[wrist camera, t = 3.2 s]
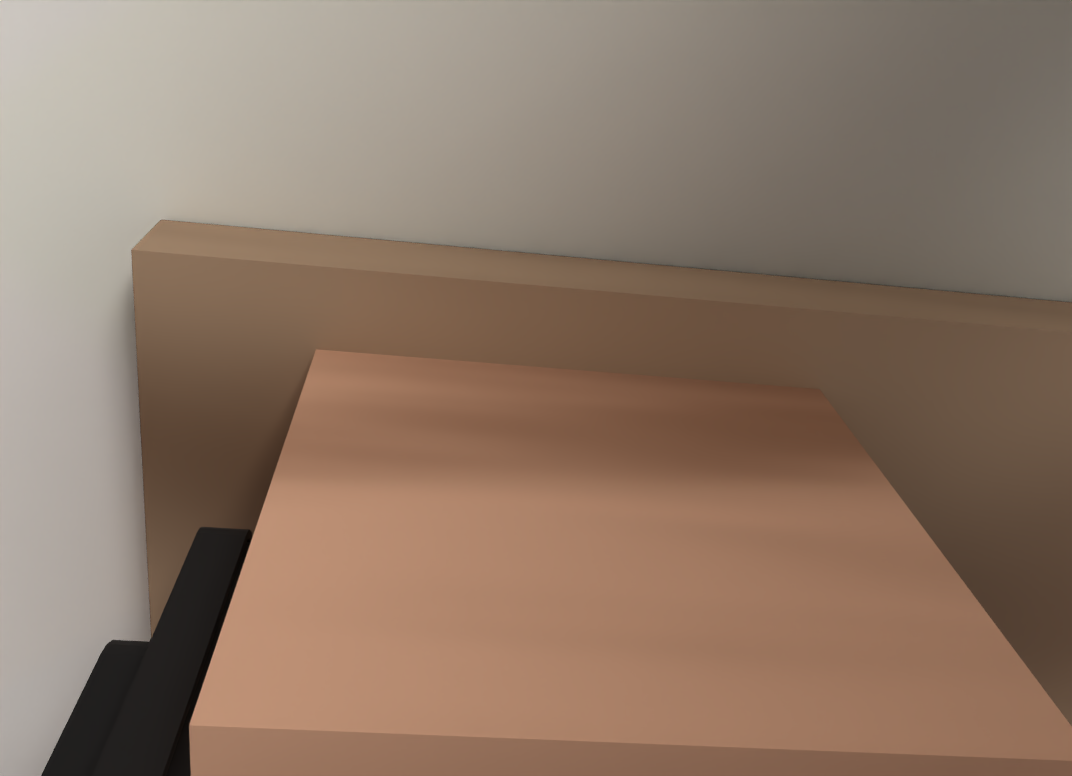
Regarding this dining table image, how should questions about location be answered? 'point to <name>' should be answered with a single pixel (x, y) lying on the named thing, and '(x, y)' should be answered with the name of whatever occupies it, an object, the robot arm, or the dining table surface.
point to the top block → (599, 592)
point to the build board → (629, 348)
